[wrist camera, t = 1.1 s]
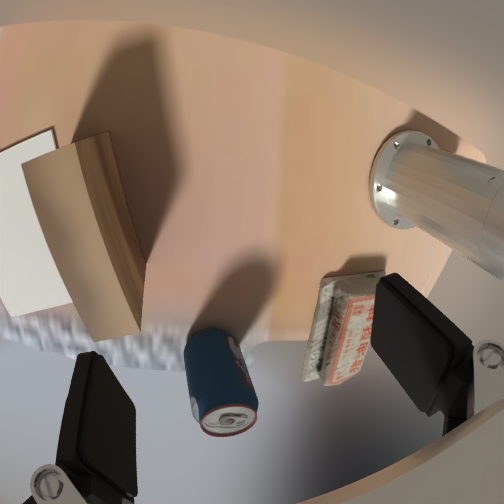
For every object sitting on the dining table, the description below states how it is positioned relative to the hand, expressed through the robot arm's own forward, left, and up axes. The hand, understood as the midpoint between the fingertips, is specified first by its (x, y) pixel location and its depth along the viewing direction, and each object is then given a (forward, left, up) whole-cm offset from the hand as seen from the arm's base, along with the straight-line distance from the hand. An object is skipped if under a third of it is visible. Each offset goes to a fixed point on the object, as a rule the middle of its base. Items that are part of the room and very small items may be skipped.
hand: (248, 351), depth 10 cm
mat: (+19, 0, -22) cm, 29 cm away
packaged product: (-15, +24, -23) cm, 36 cm away
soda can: (+3, +20, -22) cm, 30 cm away
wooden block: (+9, 0, -22) cm, 24 cm away
